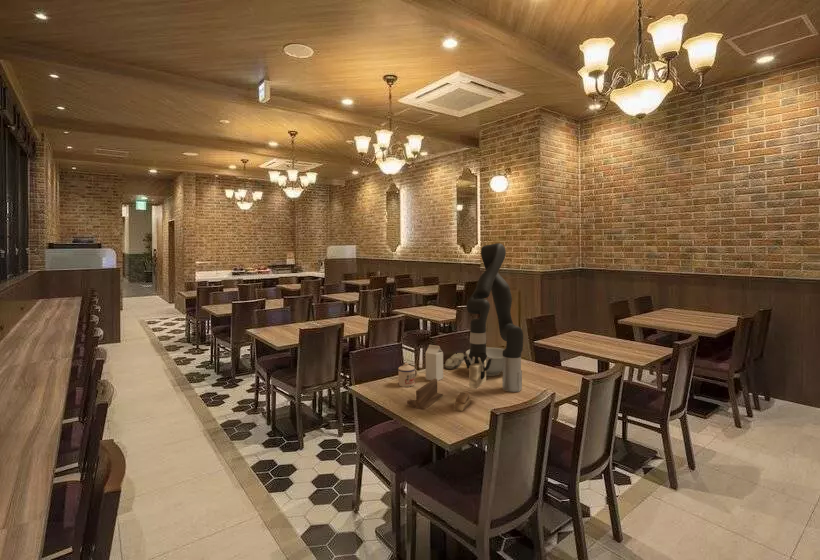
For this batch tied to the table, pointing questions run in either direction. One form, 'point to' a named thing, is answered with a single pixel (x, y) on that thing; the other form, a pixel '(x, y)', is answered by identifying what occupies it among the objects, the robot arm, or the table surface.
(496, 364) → the decorative bowl
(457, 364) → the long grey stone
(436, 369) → the milk carton
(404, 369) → the teacup with lid
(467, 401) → the offcut stack
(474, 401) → the table surface
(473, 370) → the pale wooden block
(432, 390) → the rack
